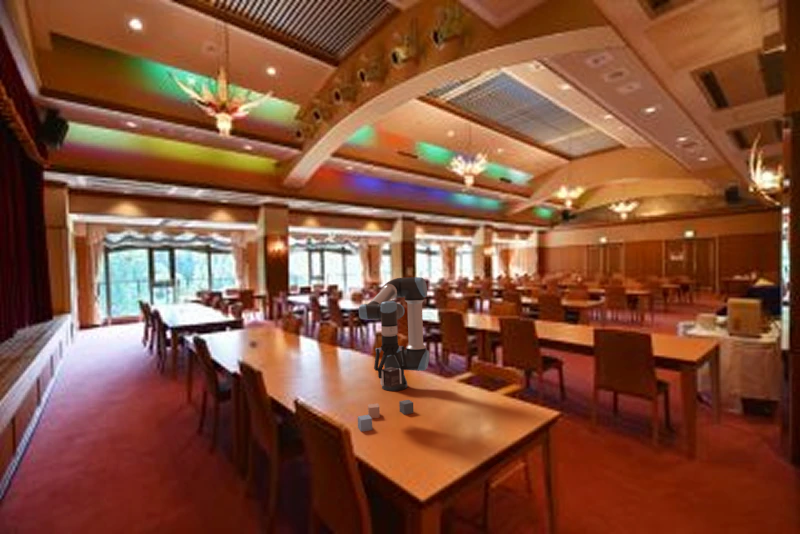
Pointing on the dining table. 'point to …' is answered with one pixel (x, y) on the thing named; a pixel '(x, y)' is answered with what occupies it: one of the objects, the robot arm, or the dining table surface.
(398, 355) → the robot arm
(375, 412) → the cube terracotta
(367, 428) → the cube slate
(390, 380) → the box
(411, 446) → the dining table surface
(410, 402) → the cube charcoal
